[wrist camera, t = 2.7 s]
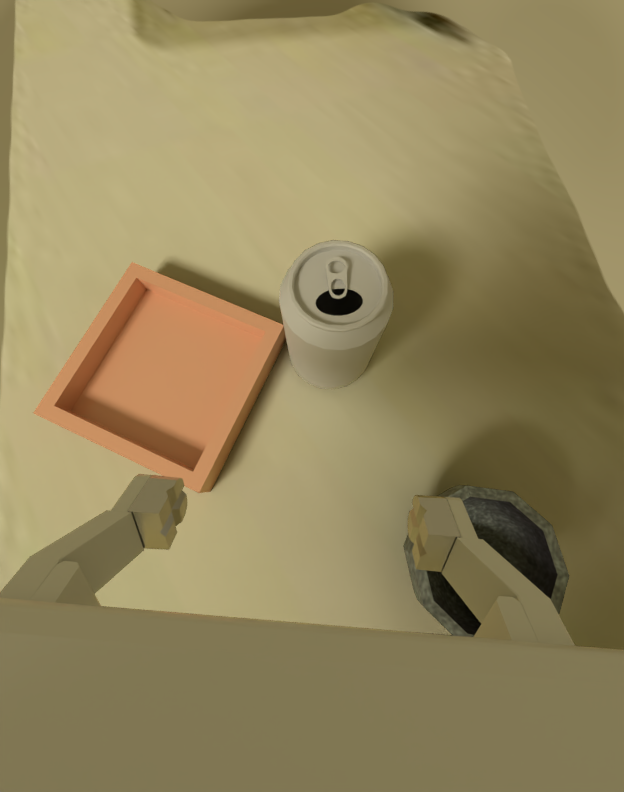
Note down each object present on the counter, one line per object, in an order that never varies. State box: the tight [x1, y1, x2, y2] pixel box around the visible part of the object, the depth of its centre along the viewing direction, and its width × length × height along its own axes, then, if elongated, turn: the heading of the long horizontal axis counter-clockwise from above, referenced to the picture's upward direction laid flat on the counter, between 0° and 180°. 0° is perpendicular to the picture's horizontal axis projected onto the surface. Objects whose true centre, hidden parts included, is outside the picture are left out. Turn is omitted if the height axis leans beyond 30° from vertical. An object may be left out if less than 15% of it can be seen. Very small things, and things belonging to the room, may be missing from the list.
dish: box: [34, 262, 286, 493], centre depth 30 cm, size 15×15×3 cm
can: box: [279, 240, 393, 389], centre depth 26 cm, size 8×8×12 cm
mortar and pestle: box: [404, 485, 569, 637], centre depth 22 cm, size 11×9×12 cm
